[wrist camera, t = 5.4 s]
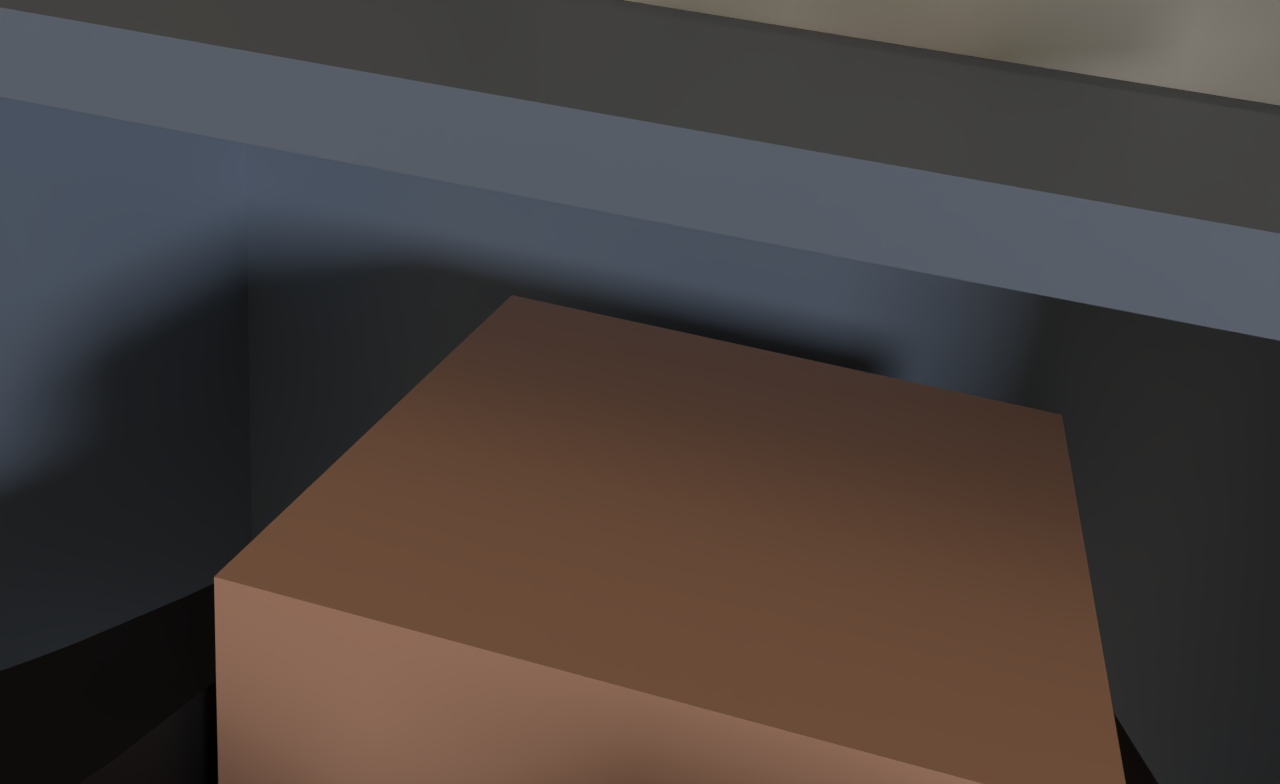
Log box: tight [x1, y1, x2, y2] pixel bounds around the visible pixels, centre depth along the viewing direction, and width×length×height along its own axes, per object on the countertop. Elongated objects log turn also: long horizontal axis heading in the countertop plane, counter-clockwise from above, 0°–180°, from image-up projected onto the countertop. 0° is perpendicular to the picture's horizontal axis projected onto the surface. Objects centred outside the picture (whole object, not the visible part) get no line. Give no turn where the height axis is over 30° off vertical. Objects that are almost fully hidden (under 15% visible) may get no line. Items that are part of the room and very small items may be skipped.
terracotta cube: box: [214, 295, 1126, 784], centre depth 10 cm, size 5×5×5 cm
